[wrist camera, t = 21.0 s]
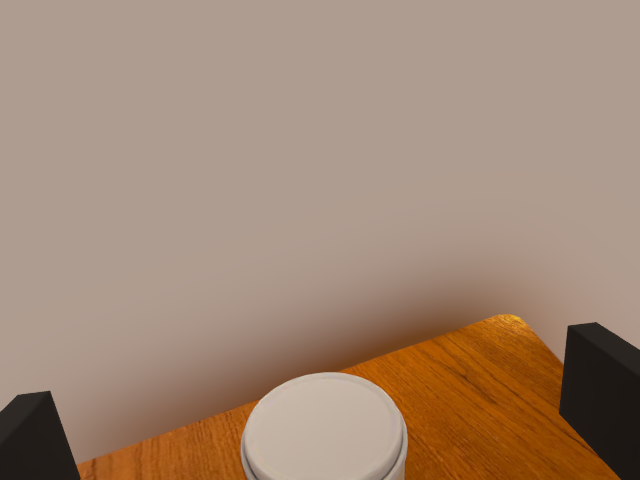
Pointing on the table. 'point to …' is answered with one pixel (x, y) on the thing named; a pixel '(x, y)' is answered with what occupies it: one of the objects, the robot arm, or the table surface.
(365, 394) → the coffee cup
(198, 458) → the table surface
